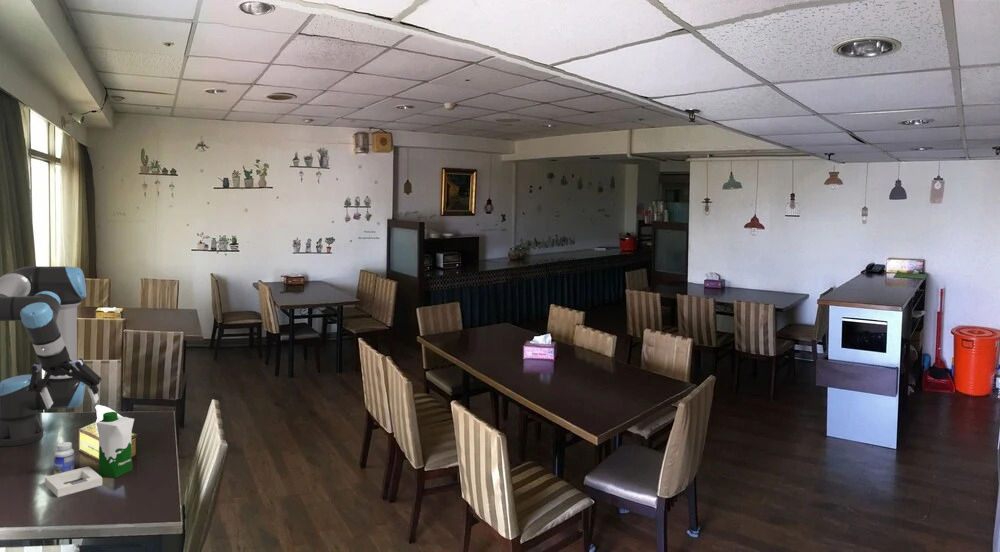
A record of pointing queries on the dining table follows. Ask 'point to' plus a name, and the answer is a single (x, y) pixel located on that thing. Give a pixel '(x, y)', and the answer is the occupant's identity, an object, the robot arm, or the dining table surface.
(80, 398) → the robot arm
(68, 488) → the plate
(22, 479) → the dining table surface
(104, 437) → the milk carton
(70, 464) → the pill bottle
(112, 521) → the dining table surface
